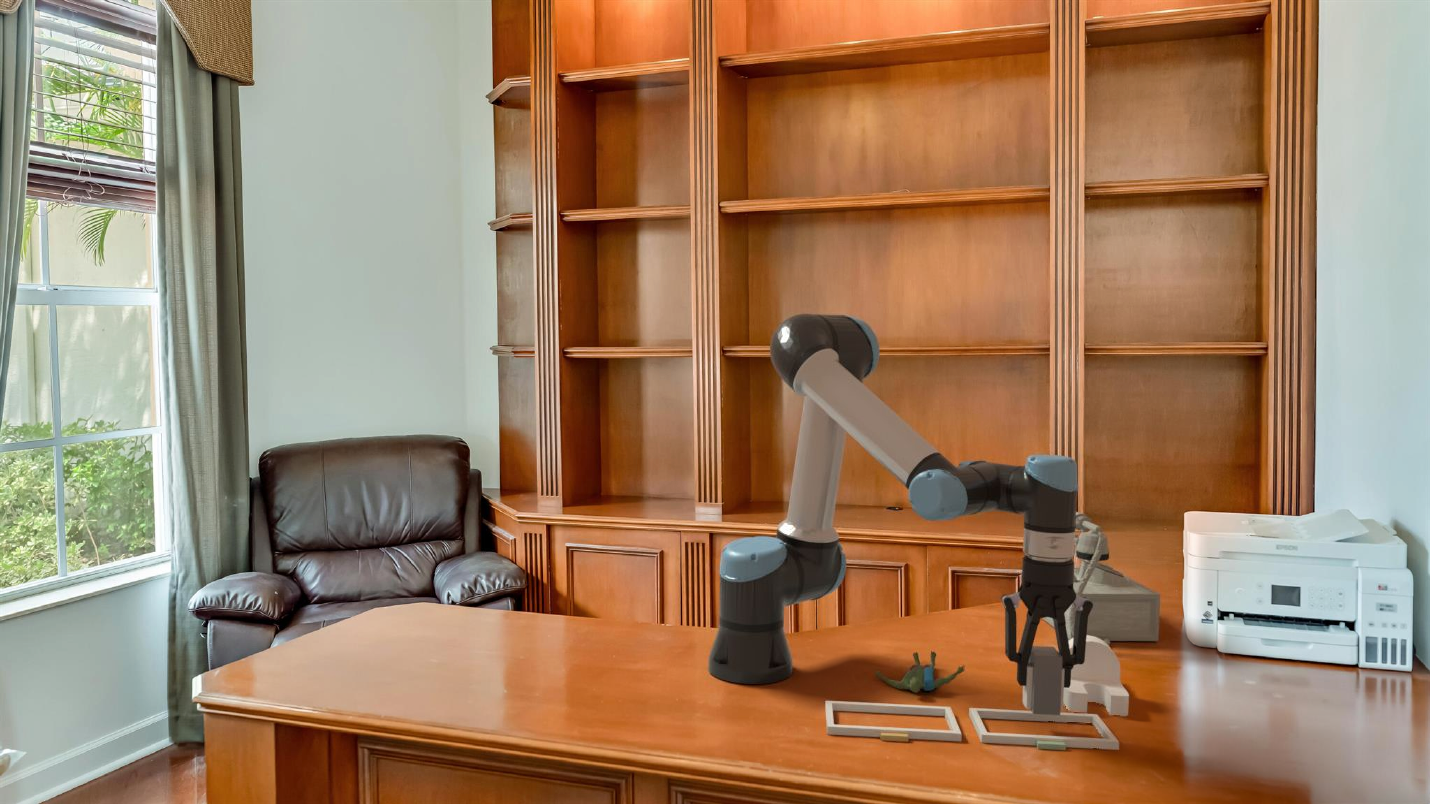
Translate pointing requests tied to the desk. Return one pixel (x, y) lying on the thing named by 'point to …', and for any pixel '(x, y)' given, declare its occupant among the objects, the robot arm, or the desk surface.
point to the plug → (1046, 680)
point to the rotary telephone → (1109, 593)
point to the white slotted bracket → (1096, 680)
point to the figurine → (920, 676)
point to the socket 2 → (1042, 740)
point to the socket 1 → (890, 732)
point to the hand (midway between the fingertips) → (1042, 706)
